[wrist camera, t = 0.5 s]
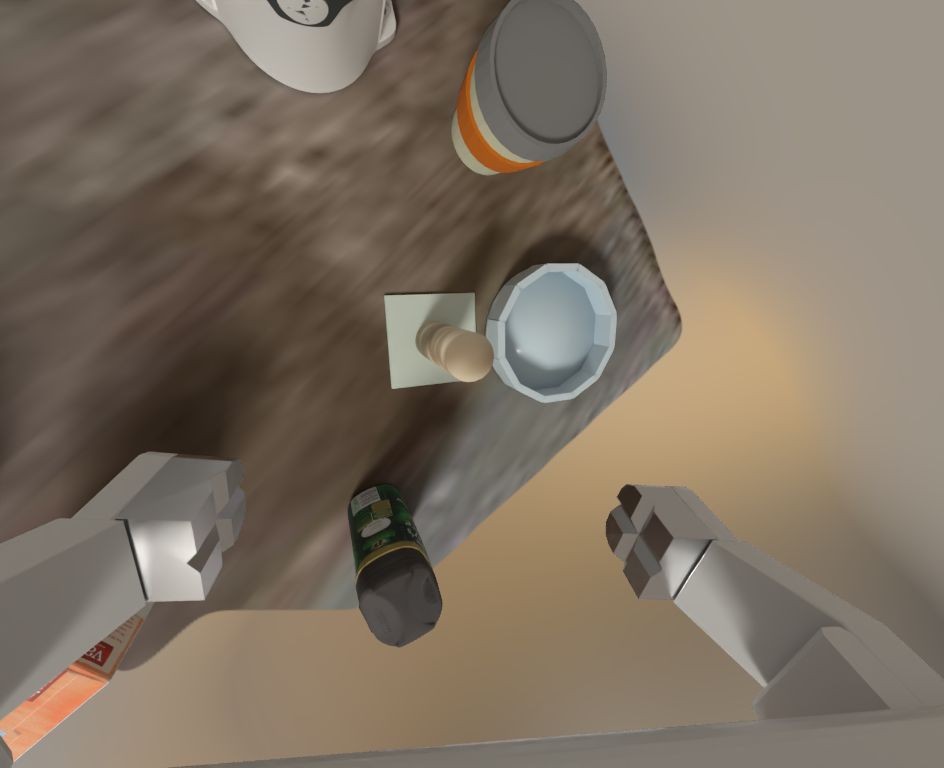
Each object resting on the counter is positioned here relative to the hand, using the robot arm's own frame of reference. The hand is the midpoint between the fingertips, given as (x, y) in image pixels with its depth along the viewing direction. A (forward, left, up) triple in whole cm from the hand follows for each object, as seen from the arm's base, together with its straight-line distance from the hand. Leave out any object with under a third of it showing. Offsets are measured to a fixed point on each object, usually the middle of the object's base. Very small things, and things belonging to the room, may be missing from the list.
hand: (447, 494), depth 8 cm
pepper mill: (+2, +11, -42) cm, 43 cm away
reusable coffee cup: (-23, +19, -42) cm, 51 cm away
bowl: (+2, +28, -42) cm, 50 cm away
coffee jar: (+26, +2, -42) cm, 50 cm away
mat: (+2, +11, -42) cm, 43 cm away
